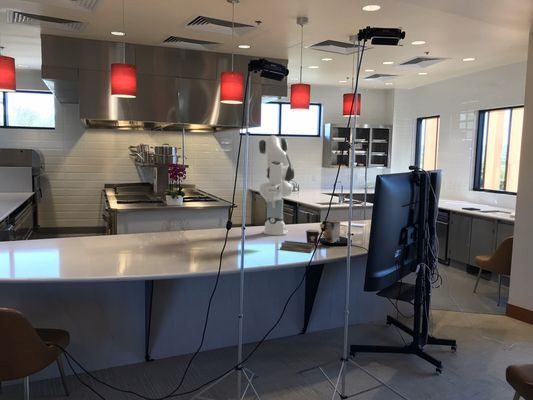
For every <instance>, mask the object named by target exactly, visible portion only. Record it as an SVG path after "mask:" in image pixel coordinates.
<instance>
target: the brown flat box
mask: <svg viewBox="0 0 533 400" xmlns="http://www.w3.org/2000/svg"><path fill="white" fill-rule="evenodd" d="M315 249H316V246H315V243H307V241H306V242H304V241H295V240H294V241H293V240H284V242H283V241H282V242H281V245H280V246H279V250H280V251H281V250H282V251H287V250H288V251H289V252H299V253H307V254H308V253H309V254H311V253H312V252H313V251H314V250H315Z"/></svg>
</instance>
